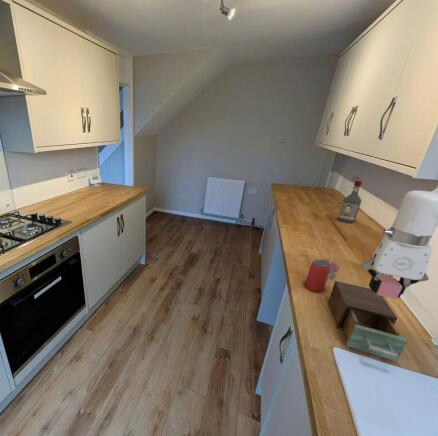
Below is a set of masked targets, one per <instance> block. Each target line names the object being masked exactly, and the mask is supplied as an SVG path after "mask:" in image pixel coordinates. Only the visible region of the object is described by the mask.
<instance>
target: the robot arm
mask: <svg viewBox="0 0 438 436" xmlns="http://www.w3.org/2000/svg"><path fill="white" fill-rule="evenodd" d="M437 227H438V187H437V188H434V189H433V190H431V191H427V190H410V191H408V192H406V193H405V194H404V197H403V198H402V201H401V203H400V205H399V208H398V210H397V213H396V216H395V218H394V220H393V223H392V225H391V226H390V228H384V229H383V231H382V233H383V234H384V235H385V236H384V237H383V238H382V240H381V241H380V242H379V243H378V245H377V247H376V248H375V250H374V252H373V254H372V257H371V258H369V259H367V260H366V261H364V262H362V263H360V266H361V267H362V269H363V270H365V271H366V272H368V274H369V275H370V276H371V278H370V281H369V283H368V288H370V289H371V290H372V291H373V292H375V293H376V292H377V290H378V288H379V285H380V283H381V282H380V278H381V277H382V276H385V275H386V276H392V277H396V278H399V280H397V281H398V282H399V283H400V284H401V285H402V289H401V291H400V293H399V295H398V298H397V299H400V298H401V296H402V295H404V292H405V291H406V289H407V288H409V287H411V285H414V284H418V283H419V282H421V283H422V282H426V281H429V276H428V275H427V273H426V271H427V268H428V266H429V263H430V259H431V254H432V246H431V245H430V241H431V239H432V237H433V235H434V233H435V231H436V229H437ZM372 267H373V268H372Z"/></svg>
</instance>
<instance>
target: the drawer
mask: <svg viewBox="0 0 438 436" xmlns="http://www.w3.org/2000/svg"><path fill="white" fill-rule="evenodd" d="M342 325H343V328H344V333H345V336H346V338H347V339H346V342H345V344H346V347H349V348H352V349H354V350H357V351H361V352H364V353H368V354H371V355H374V356H377V357H381V358H384V359H387V360H390V361H394V362H398V360H399V358H400V357H401V355H402V353H403V350H404V349H405V347H406V345H407V344H408V339H407V338H406V337H404V336H401V335H400V332H399V331H398V329H397V327H396V326H395V324H393V323H392V321H391V320H390V318H387V317H383V316H379V315H375V314H371V313H367V312H364V311H360V310H356V309H352V308H348V309H347V311H346V314H345V316H344V319H343V322H342Z"/></svg>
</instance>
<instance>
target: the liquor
mask: <svg viewBox="0 0 438 436" xmlns="http://www.w3.org/2000/svg"><path fill="white" fill-rule="evenodd" d="M362 183H363V181H362V180H355V182H354V184H353V187H352V188H353V189H352V192H351V193H350V194H349V195H348V196H346V197H344V199H343V200H342V203H341V207H340V210H339V213H338V216H337V221H338V222H341V221H342V222H341V223H345V222H346V223H345V224H353V223H354V222H355V221H356V218H357V215H358V212H359V210H360V207H361V204H362V198H361V197H360V195H359V191H360V188H361V186H362Z"/></svg>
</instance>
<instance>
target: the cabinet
mask: <svg viewBox="0 0 438 436" xmlns="http://www.w3.org/2000/svg"><path fill="white" fill-rule="evenodd" d="M327 302H328V305H329V308H330V311H331V315H332V318H333V320H334V323H335V326H336V328H337V329H340V330H344V328H343V325H342V322H343V319H344V316H345V314H346V311H347V309H348V308H352V309H356V310H360V311H364V312H367V313H371V314H375V315H379V316H383V317H387V318H390V320H391V321H392V323H393V324H394V325H395V324H396V322H397V320H398V317H397V315H396V314H395V312H394V311H393V309H392V307H391V306H390V305H389V303H388V302H387V300H386V299H385V297H384V296H380V295H377V294H376V293H375V292H373V291H372V290H371V288H370V287H364V286H361V285H356V284H351V283H346V282H343V281H337V280H335V281H334V283H333V287H332V289H331V292H330V295H329V298H328V300H327Z"/></svg>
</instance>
